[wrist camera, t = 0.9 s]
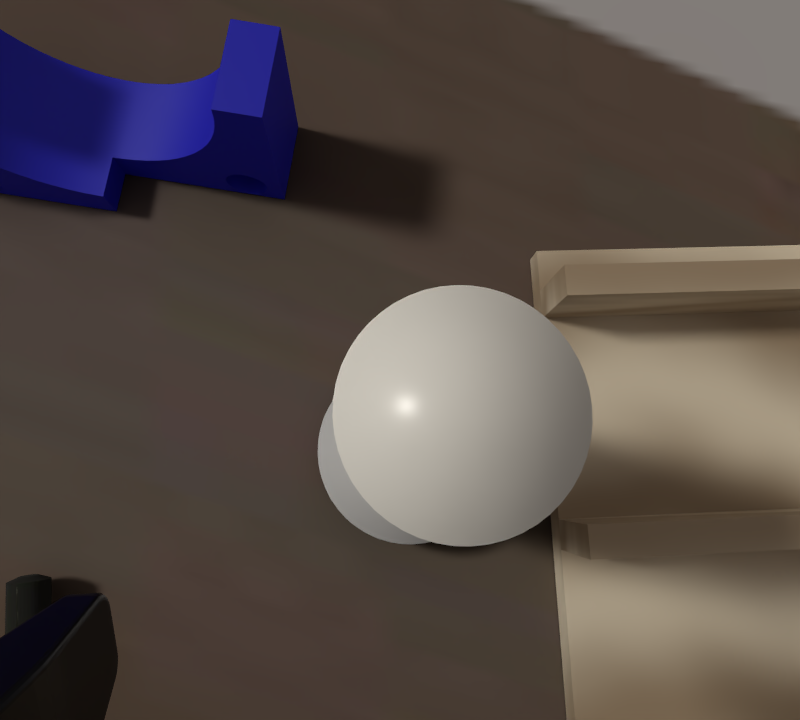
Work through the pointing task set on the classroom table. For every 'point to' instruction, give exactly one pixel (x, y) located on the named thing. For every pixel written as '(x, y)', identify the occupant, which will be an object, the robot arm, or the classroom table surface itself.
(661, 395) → the slot rack
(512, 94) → the classroom table surface
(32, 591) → the handheld radio
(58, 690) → the robot arm
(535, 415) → the white bulb knob
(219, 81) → the blue curved cradle
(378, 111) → the classroom table surface
